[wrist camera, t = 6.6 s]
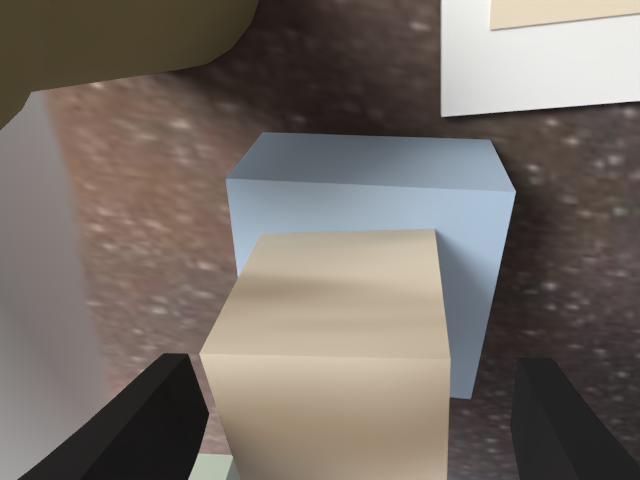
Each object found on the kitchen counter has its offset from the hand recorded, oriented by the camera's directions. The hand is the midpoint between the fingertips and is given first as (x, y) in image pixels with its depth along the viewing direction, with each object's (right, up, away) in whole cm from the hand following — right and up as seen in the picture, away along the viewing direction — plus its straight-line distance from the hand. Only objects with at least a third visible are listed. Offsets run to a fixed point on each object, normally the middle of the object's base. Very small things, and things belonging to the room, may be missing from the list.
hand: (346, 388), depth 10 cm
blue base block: (+1, +4, +6) cm, 7 cm away
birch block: (0, +2, +3) cm, 3 cm away
